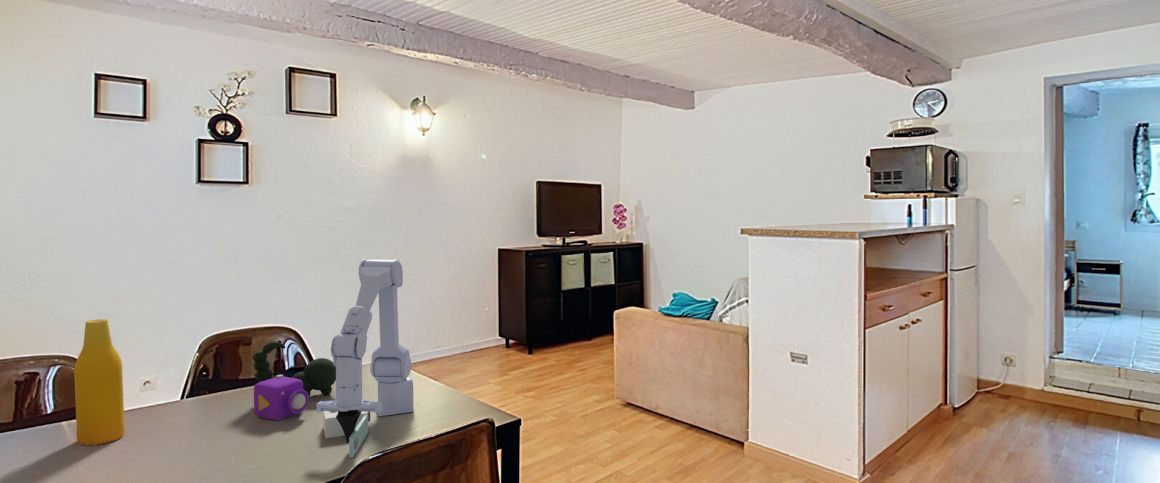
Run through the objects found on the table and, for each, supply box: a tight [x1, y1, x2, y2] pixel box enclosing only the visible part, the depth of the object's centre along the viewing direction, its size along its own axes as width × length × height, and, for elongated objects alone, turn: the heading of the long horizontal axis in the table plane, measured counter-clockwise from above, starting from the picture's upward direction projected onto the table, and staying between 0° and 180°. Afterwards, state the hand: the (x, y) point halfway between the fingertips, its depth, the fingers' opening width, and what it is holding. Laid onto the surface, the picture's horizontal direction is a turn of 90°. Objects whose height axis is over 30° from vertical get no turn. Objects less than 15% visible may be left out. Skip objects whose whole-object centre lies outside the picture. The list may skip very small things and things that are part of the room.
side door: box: [348, 414, 369, 459], centre depth 147 cm, size 15×1×5 cm, turn 6°
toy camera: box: [253, 374, 310, 421], centre depth 167 cm, size 11×14×10 cm
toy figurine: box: [251, 341, 336, 398], centre depth 181 cm, size 9×19×25 cm
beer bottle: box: [73, 318, 126, 446], centre depth 148 cm, size 9×9×29 cm
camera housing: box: [322, 411, 371, 439], centre depth 157 cm, size 11×8×6 cm
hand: (349, 441), depth 144 cm, fingers closed
